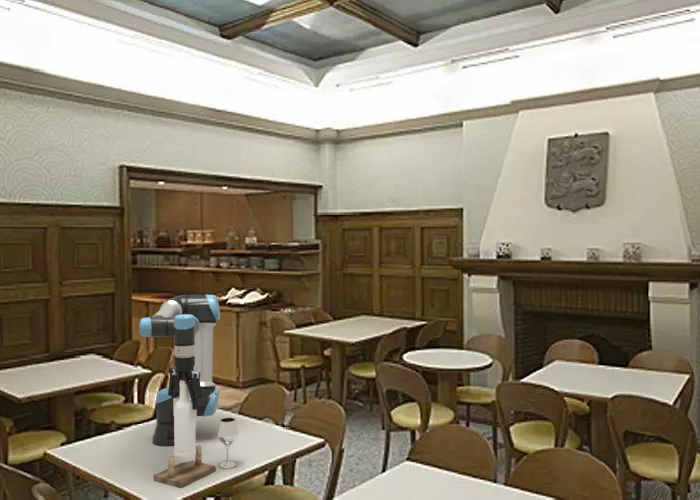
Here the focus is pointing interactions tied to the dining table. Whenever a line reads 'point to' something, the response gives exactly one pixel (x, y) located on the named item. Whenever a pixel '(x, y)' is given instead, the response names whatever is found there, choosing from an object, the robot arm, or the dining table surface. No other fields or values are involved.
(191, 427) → the bottle
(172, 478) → the stand
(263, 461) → the dining table surface
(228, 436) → the wineglass
